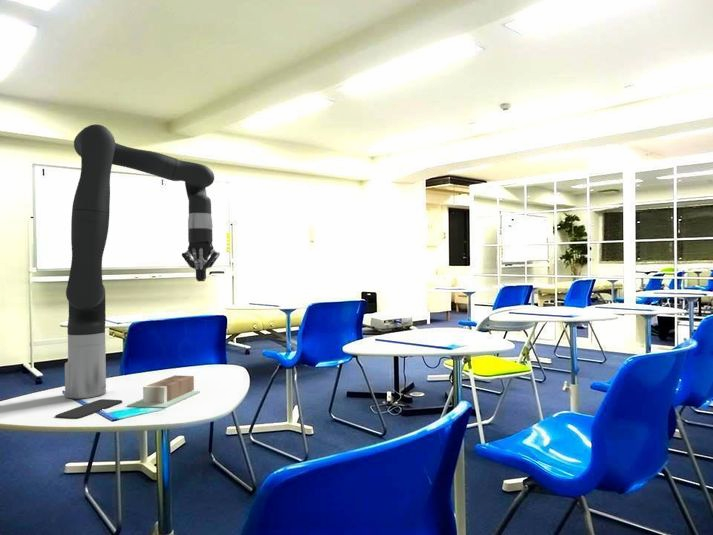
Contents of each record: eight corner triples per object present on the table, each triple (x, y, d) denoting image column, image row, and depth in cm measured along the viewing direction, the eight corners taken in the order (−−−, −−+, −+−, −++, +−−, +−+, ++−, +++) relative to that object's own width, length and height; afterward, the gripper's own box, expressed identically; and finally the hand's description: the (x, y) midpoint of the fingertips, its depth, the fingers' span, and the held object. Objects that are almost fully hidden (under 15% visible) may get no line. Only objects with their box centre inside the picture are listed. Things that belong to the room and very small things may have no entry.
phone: (52, 415, 114) (100, 398, 128) (52, 419, 114) (100, 402, 128) (78, 417, 112) (124, 400, 127) (78, 421, 112) (124, 403, 127)
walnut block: (174, 389, 138) (143, 402, 125) (174, 375, 138) (143, 386, 125) (193, 390, 137) (164, 403, 123) (193, 376, 137) (163, 387, 123)
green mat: (127, 406, 122) (127, 405, 122) (165, 391, 138) (165, 389, 138) (165, 408, 120) (165, 406, 120) (199, 392, 136) (199, 391, 136)
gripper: (175, 227, 155) (176, 281, 155) (212, 226, 152) (213, 281, 152) (188, 229, 162) (189, 281, 162) (224, 228, 160) (225, 280, 159)
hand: (201, 281), depth 157 cm, fingers closed
